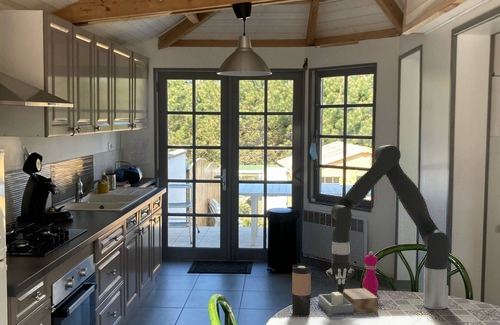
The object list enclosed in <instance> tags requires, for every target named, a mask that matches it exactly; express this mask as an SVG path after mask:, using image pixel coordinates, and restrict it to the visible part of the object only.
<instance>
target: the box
mask: <svg viewBox="0 0 500 325" xmlns="http://www.w3.org/2000/svg"><path fill="white" fill-rule="evenodd" d="M331 298H332V293H325V294H324V293H322V294H321V293H320V294H318V302H317V303H318V305H319V306H320V307H322V309H323V310H324V311H325V312H326V313H327V314H328V315H329V316H330V317H332V316H333V317H334V316H335V317H336V316H348V315H349V316H350V315H354V314H355V313H354V305H353V304H352V303H351V302H350V301H349V300H348V299H346V298H345V297H344V296H343V305H332V304H331Z"/></svg>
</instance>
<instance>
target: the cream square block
mask: <svg viewBox="0 0 500 325" xmlns="http://www.w3.org/2000/svg"><path fill="white" fill-rule="evenodd" d="M331 294H332V298H331V304H332V305H343V295H342V294H341V293H339V292H338V291H333V292H331Z"/></svg>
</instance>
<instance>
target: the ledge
mask: <svg viewBox="0 0 500 325" xmlns="http://www.w3.org/2000/svg"><path fill="white" fill-rule="evenodd" d="M340 294H342V295H343V296H344V297H345V298H346V299H348V300H349V301H350V302H351V303H352V304H353V305H354V314H365V313H367V314H368V313H378V311H379V310H378V309H379V308H378V307H379V298H378V297H377V295H373V294H372V293H371V292H369V291H368V290H367V289H365V288H364V287H362V288H361V287H360V288H347V289H346V288H344V291H343V293H340Z"/></svg>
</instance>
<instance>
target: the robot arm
mask: <svg viewBox="0 0 500 325" xmlns="http://www.w3.org/2000/svg"><path fill="white" fill-rule="evenodd" d="M401 154H402V153H401V150H400V149H399V148H398V146H396V145H392V144H386V145H380V146H378V147H377V148H376V149H375V151H374V160H375V162H374V163H373V164H372V166H371V167H370V168H369V169H368V170H367V171H366V172H365V173H364V174H363V175H362V176H361V177H359V178H358V179H357V181H355V182H354V184H353V185H352V186H351V187H350V188H349V190H348V191H347V192H346V194H344V196H343V197H341V198H340V199H338V200H337V202H335V203H334V205H333V206H332V207H331V210H330V216H331V217H332V219H334V220H335V224H334V226H335V227H334V228H333V229H332V243H331V265H330V268H329V269H328V270H325V273H326V274H327V276H328V277H329V278H330V280H331V281H332V282H333V283H334V284H336V292H339V293H340V294H341V293H343V291H344V289H345V284H346V283H349V282H350V280H351V279H352V277H353V276H354V274H355V273H356V270H354V269H353V268H352V267H351V264H350V263H351V262H350V260H351V249H350V248H351V245H350V230H351V225H352V220H353V215H352V214H353V213H352V210H353V208H354V207H357V206H359V205H360V204H361V203H362V201H363V200H364V199H365V198H366V197H367V196H368V195H369V193H370V192H371V191H372V189H373V188H374V187H375V186H376V185H377V183H378V182H379V181H380V180H381V179H382V178H383V177H384V176H386V177H387V179H388V181H389V183H390V185H391V186H392V188H393V191H394V192H395V193H394V194H396V196H397V198H398V200H399V202H400V203H401V205H402V207H403V209H404V210H405V212H406V214H407V215H408V216H409V218H410V220H411V221H412V222H413V223H414V225H415V227H416V228H417V231H418V232H419V235H420V237H421V239H422V242H423V244H424V246H425V247H426V258H425V259H424V262H423V264H424V266H423V299H422V300H423V301H422V302H423V304H422V305H423V307H425V308H426V309H429V310H440V311H441V310H444V309H447V308H449V285H447V280H448V279H447V278H448V276H447V274H448V273H447V272H448V270H447V268H448V262H449V260H450V259H449V257H450V239H449V236H448V235H447V234H446V233H445V232H443V231H441V230H440V228H439V227H438V226H437V224H436V223H435V221H434V220H433V218H432V217H431V215H430V213H429V212H430V211H429V209H428V205H427V202H426V200H425V198H424V196H423V194H422V192H421V191H420V189H419V188H418V186H417V185H416V183H415V182H414V181H413V180H412V179H411V178H410V176H408V175H407V174H406V173H405V171H404V170H403V169H402V167H401V165H400V163H399V161H400V159H401V156H402V155H401ZM333 274H334V275H335V277H334V275H333Z"/></svg>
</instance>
